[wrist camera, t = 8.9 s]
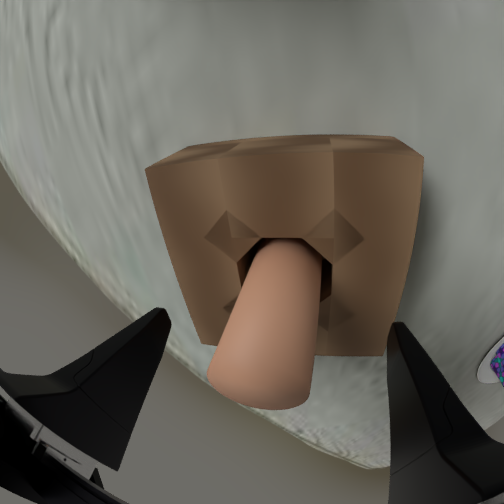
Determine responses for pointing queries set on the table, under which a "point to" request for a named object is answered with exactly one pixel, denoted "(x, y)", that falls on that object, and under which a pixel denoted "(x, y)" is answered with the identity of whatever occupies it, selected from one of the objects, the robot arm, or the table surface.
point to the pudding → (493, 366)
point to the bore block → (294, 226)
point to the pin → (272, 329)
